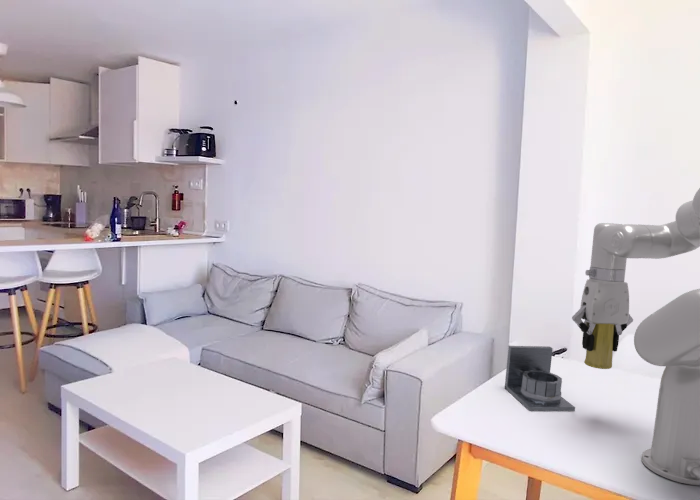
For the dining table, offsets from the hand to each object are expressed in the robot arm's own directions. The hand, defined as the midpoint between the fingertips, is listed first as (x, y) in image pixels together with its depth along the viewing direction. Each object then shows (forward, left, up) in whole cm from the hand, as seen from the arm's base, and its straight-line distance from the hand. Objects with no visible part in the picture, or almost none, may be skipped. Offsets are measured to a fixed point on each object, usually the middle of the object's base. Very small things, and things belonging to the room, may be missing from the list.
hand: (599, 348), depth 128 cm
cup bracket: (+10, +8, -17) cm, 22 cm away
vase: (0, 0, -4) cm, 4 cm away
